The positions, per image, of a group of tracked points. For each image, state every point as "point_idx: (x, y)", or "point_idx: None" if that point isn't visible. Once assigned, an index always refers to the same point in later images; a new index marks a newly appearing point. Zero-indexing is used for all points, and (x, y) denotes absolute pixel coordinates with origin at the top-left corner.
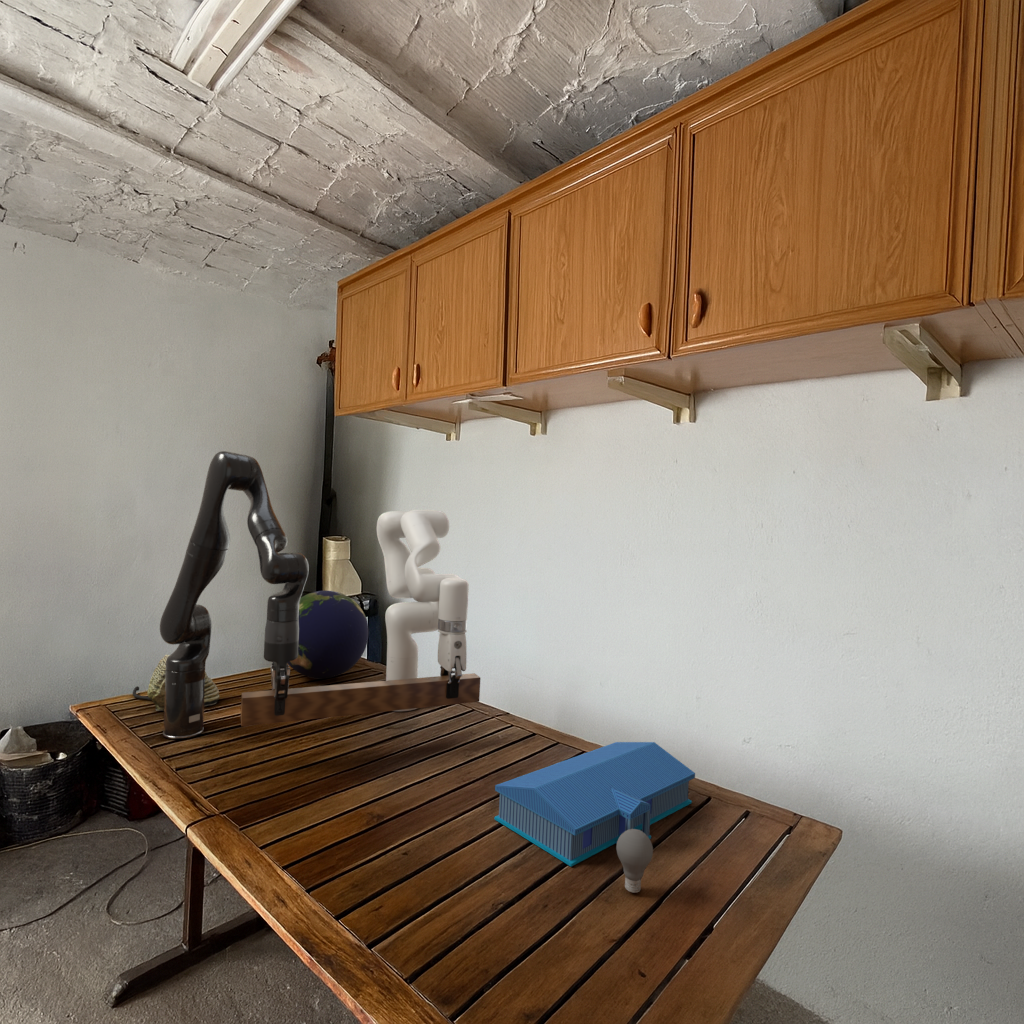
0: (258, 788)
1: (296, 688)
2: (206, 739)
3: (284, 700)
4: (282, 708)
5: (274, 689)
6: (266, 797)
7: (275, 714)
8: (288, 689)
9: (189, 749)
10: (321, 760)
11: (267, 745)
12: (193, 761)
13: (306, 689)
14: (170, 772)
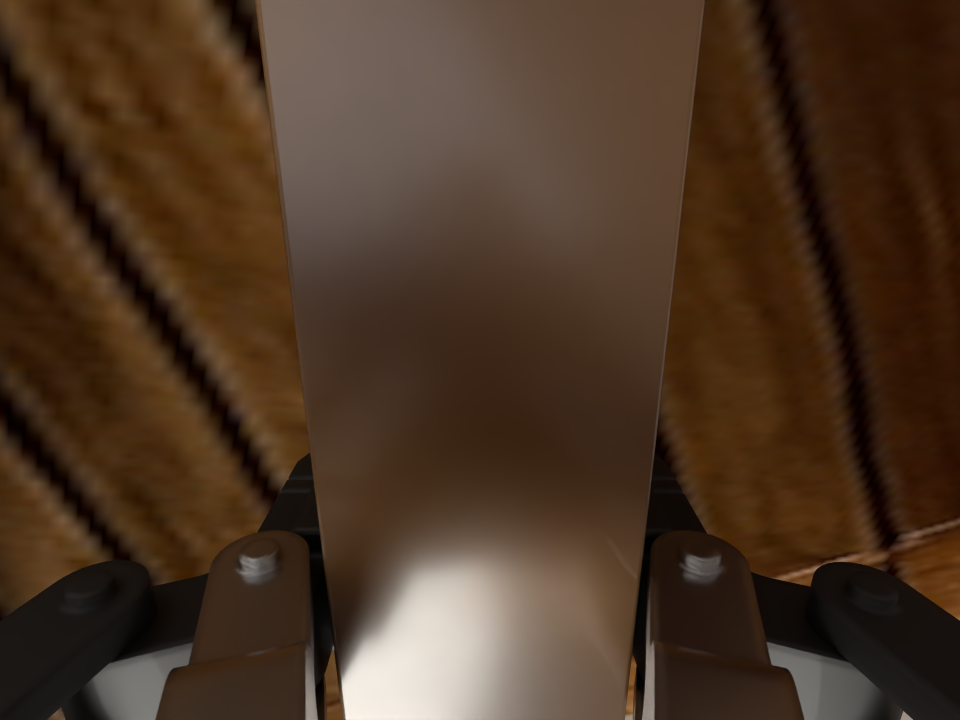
0: (729, 404)
1: (331, 358)
2: (44, 587)
3: (666, 527)
4: (678, 492)
5: (322, 692)
6: (847, 378)
7: None
8: (364, 502)
9: None
10: None
11: (168, 324)
12: None
13: (450, 152)
14: None
